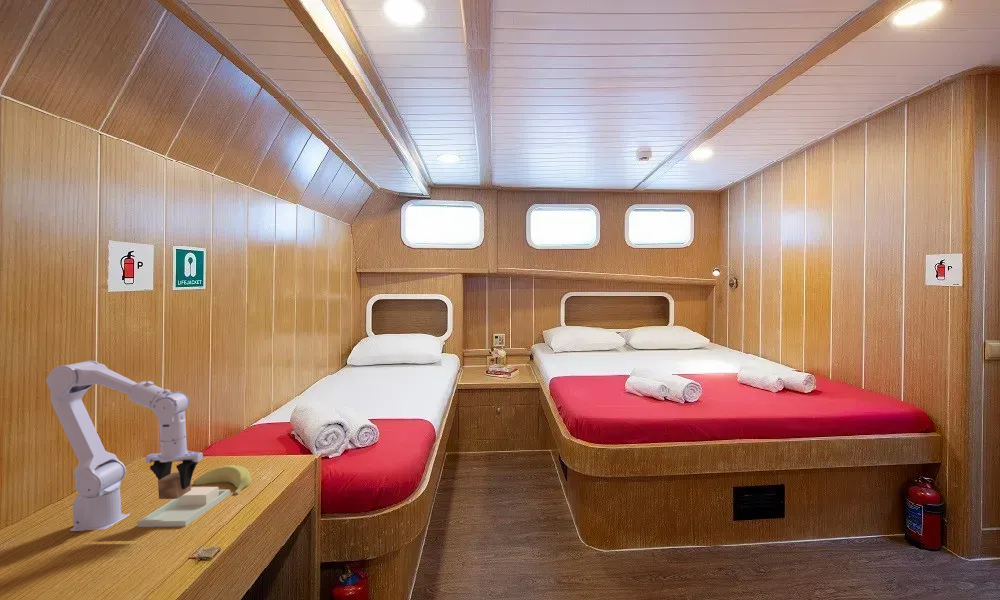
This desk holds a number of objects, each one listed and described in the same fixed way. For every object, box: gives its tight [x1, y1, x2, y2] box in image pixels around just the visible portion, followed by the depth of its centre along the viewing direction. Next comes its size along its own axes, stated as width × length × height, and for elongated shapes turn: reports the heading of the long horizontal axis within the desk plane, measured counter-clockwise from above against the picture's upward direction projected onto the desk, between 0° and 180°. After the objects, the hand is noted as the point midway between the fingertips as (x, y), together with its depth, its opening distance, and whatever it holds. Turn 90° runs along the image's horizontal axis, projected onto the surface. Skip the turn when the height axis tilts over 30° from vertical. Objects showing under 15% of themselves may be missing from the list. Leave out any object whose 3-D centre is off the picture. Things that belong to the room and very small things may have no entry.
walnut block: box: [157, 472, 192, 500], centre depth 120 cm, size 5×5×5 cm
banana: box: [193, 464, 252, 496], centre depth 139 cm, size 14×6×20 cm
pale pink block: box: [179, 486, 220, 506], centre depth 129 cm, size 8×5×3 cm, turn 88°
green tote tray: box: [136, 489, 231, 528], centre depth 124 cm, size 13×18×2 cm
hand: (176, 487), depth 120 cm, fingers closed on walnut block, 5 cm apart
